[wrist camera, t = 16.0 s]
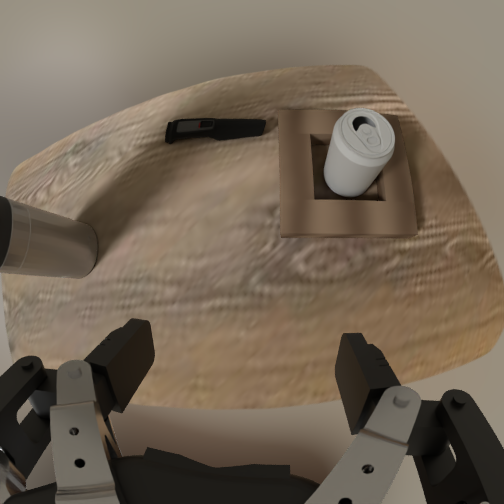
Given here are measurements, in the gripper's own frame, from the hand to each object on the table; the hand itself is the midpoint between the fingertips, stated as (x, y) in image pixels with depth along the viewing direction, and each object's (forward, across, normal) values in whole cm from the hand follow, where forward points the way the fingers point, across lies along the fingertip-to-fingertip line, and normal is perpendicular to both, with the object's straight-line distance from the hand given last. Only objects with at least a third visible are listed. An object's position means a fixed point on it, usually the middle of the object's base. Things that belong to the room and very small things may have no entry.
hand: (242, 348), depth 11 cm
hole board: (+26, -11, -9) cm, 30 cm away
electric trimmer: (+31, +8, -14) cm, 35 cm away
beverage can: (+27, -11, -8) cm, 30 cm away
